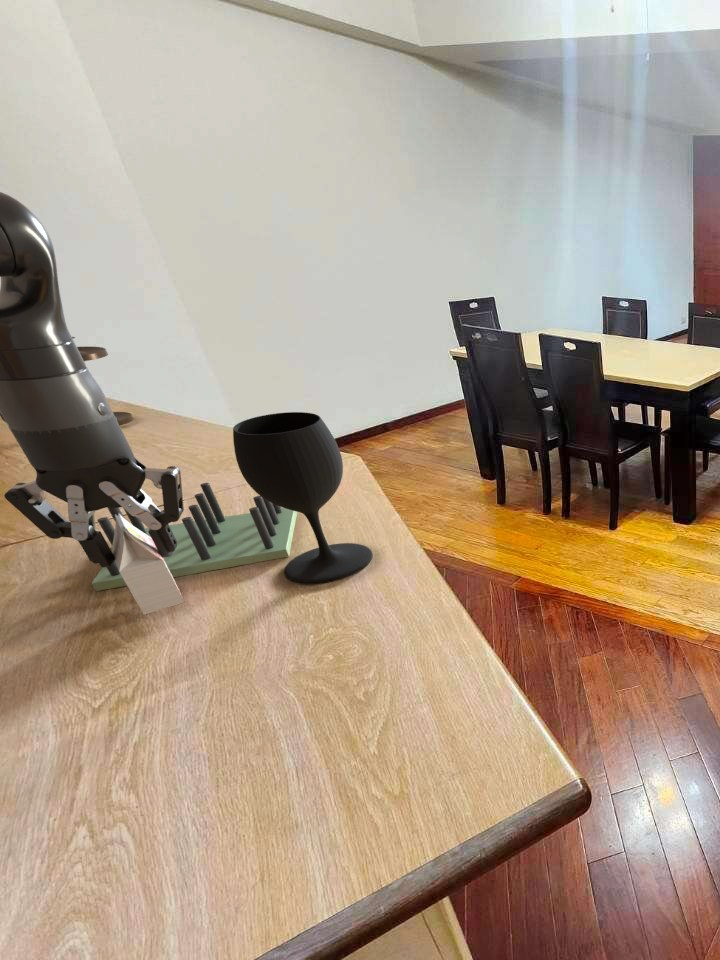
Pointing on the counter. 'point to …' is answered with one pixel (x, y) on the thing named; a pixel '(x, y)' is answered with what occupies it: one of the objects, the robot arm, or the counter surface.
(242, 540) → the rack
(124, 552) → the white milk carton
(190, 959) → the counter surface
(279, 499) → the wine glass
